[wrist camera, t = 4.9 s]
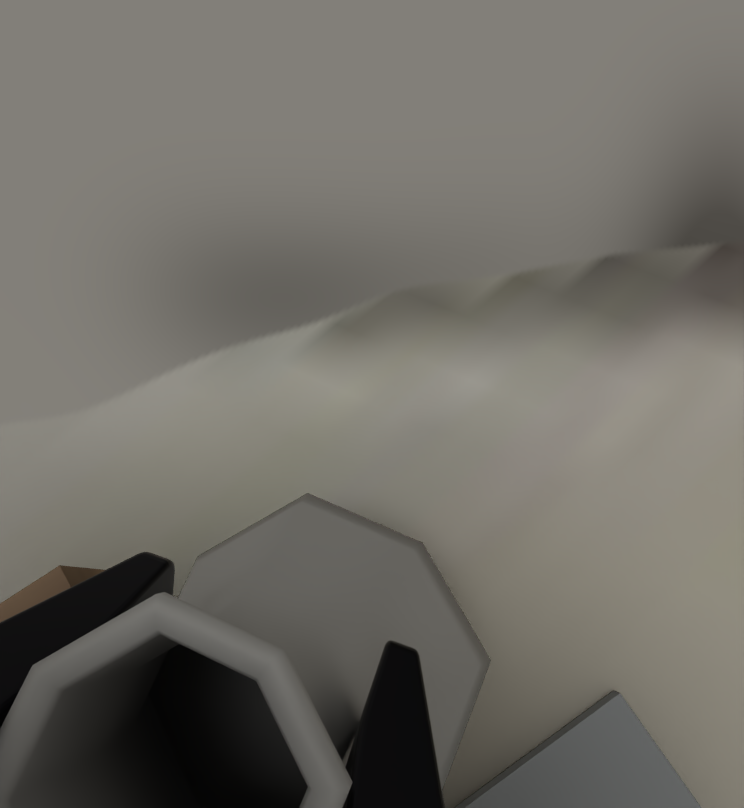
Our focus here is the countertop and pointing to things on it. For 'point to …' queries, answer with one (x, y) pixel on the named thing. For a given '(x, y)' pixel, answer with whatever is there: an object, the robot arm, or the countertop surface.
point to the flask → (243, 675)
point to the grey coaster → (590, 768)
